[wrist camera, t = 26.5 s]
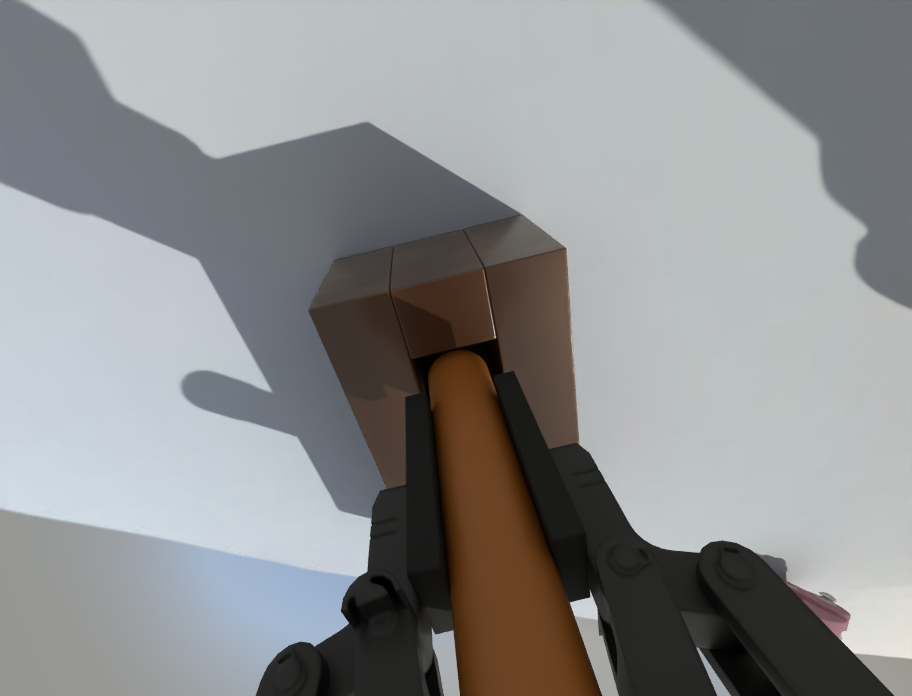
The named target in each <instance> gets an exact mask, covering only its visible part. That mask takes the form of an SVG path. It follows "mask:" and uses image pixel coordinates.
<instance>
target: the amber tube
mask: <svg viewBox="0 0 912 696" xmlns="http://www.w3.org/2000/svg"><path fill="white" fill-rule="evenodd" d="M428 382H429V392H430V402H431V411H432V418H433V428H434V438H435V448H436V458H437V468H438V478H439V488H440V497H441V507H442V517H443V527H444V537H445V547H446V557H447V567H448V576H449V586H450V600H451V610H452V620H453V630H454V640H455V649H456V659H457V669H458V679H459V689H460V696H602V694H601V691H600V688H599V685H598V683H597V680H596V677H595V674H594V671H593V668H592V665H591V663H590V660H589V657H588V654H587V651H586V648H585V645H584V642H583V640H582V637H581V634H580V631H579V628H578V625H577V623H576V620H575V617H574V614H573V611H572V608H571V605H570V602H569V600H568V597H567V594H566V591H565V588H564V585H563V582H562V579H561V577H560V574H559V571H558V569H557V567H556V565H555V562H554V559H553V556H552V553H551V550H550V547H549V544H548V542H547V539H546V536H545V533H544V530H543V527H542V524H541V521H540V518H539V516H538V513H537V510H536V507H535V504H534V501H533V498H532V495H531V492H530V489H529V487H528V484H527V481H526V478H525V475H524V472H523V469H522V466H521V463H520V461H519V458H518V455H517V452H516V449H515V446H514V443H513V440H512V437H511V435H510V432H509V429H508V426H507V423H506V420H505V417H504V414H503V411H502V409H501V406H500V403H499V400H498V396H497V393H496V390H495V387H494V385H493V382H492V379H491V376H490V373H489V370H488V367H487V365H486V363H485V361H484V360H483V359H482V358H481V357H480V356H478V355H477V354H475V353H473V352H470V351H466V350H456V351H451V352H448V353H445V354H444V355H442V356H440V357H439V358H438V359H437V360H436V361H435V362H434V363H433V364H432V366H431V368H430V370H429V374H428Z"/></svg>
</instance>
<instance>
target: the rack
mask: <svg viewBox="0 0 912 696" xmlns="http://www.w3.org/2000/svg"><path fill="white" fill-rule="evenodd" d="M309 314H310V316H311V318H312V320H313V323H314V325H315V327H316V329H317V332H318V334H319V336H320V338H321V341H322V343H323V345H324V347H325V350H326V352H327V354H328V356H329V359H330V361H331V363H332V365H333V368H334V370H335V372H336V375H337V377H338V379H339V381H340V384H341V386H342V388H343V390H344V393H345V395H346V397H347V399H348V402H349V404H350V406H351V408H352V411H353V413H354V415H355V417H356V420H357V422H358V424H359V426H360V429H361V431H362V433H363V435H364V438H365V440H366V442H367V444H368V447H369V449H370V451H371V454H372V456H373V458H374V460H375V463H376V465H377V467H378V469H379V472H380V474H381V476H382V478H383V481H384V483H385V485H386V487H387V489H389V488H393V487H398V486H402V485H406V430H405V397H407V396H411V395H415V394H419V393H423V392H426V395H427V398H428V402H429V405H430V408H431V402H430V392H429V382H428V374H429V370H430V368H431V366H432V364H433V363H434V362H435V361H436V360H437V359H438V358H439V357H440V356H442V355H444V354H445V353H448V352H451V351H448V352H444V353H440V354H436V355H431V356H427V357H426V355H430V354H434V353H438V352H443V351H447V350H451V349H455V348H459V347H463V346H468V345H472V344H476V343H480V342H484V341H485V342H486V344H485V343H481V344H477V345H473V346H469V347H465V348H461V349H456V350H466V351H470V352H473V353H475V354H477V355H478V356H480V357H481V358H482V359H483V360H484V361H485V363H486V365H487V367H488V370H489V373H490V376H491V379H492V382H493V385H494V387H495V390H496V386H495V381H494V376H493V375H498V374H502V373H506V372H510V371H514V372H515V375H516V377H517V379H518V381H519V383H520V386H521V388H522V390H523V392H524V395H525V397H526V399H527V401H528V404H529V406H530V408H531V410H532V413H533V415H534V417H535V419H536V422H537V424H538V426H539V428H540V430H541V433H542V435H543V437H544V439H545V442H546V444H547V446H548V448H549V449H551V448H555V447H560V446H564V445H568V444H572V443H577V444H579V434H578V419H577V404H576V389H575V374H574V359H573V344H572V329H571V314H570V299H569V284H568V269H567V254H566V248H565V247H564V246H563V245H561V244H560V243H559V242H557V241H556V240H555V239H554V238H552V237H551V236H550V235H548V234H547V233H546V232H544V231H543V230H542V229H541V228H539V227H538V226H537V225H535V224H534V223H533V222H531V221H530V220H529V219H528V218H526V217H525V216H524V215H519V216H515V217H511V218H507V219H503V220H499V221H494V222H490V223H486V224H482V225H478V226H474V227H470V228H465V229H464V230H458V231H454V232H449V233H445V234H441V235H437V236H433V237H429V238H425V239H421V240H416V241H412V242H408V243H404V244H400V245H396V246H394V248H393V247H387V248H383V249H379V250H375V251H371V252H367V253H363V254H358V255H354V256H350V257H346V258H342V259H338V260H334V262H333V264H332V265H331V267H330V269H329V271H328V273H327V275H326V277H325V279H324V281H323V283H322V285H321V287H320V289H319V291H318V292H317V294H316V296H315V298H314V300H313V302H312V304H311V306H310V308H309ZM456 350H452V351H456ZM496 393H497V391H496Z"/></svg>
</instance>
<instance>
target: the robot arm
mask: <svg viewBox="0 0 912 696" xmlns="http://www.w3.org/2000/svg"><path fill="white" fill-rule="evenodd" d="M493 376H494V381H495V386H496V391H497V396H498V400H499V403H500V406H501V409H502V411H503V414H504V417H505V420H506V423H507V426H508V429H509V432H510V435H511V437H512V440H513V443H514V446H515V449H516V452H517V455H518V458H519V461H520V463H521V466H522V469H523V472H524V475H525V478H526V481H527V484H528V487H529V489H530V492H531V495H532V498H533V501H534V504H535V507H536V510H537V513H538V516H539V518H540V521H541V524H542V527H543V530H544V533H545V536H546V539H547V542H548V544H549V547H550V550H551V553H552V556H553V559H554V562H555V565H556V567H557V569H558V571H559V574H560V577H561V579H562V582H563V585H564V588H565V591H566V594H567V597H568V600H569V602H573V601H577V600H581V599H585V598H590V591H591V593H592V596H593V598H594V601H595V603H596V606H597V608H598V625H599V626H598V627H599V635H603V639H604V642H605V646H606V650H607V654H608V657H609V661H610V665H611V668H612V672H613V676H614V680H615V683H616V687H617V691H618V694H619V696H717V694H716V692H715V690H714V687H713V685H712V683H711V680H710V678H709V676H708V674H707V671H706V669H705V667H704V664H703V662H702V660H701V658H700V655H699V653H698V651H697V648H696V647H698V648H699V649H700V650H701V652H702V653H703V655H704V656H705V658H706V659H707V661H708V662H709V664H710V665H711V667H712V668H713V670H714V671H715V673H716V674H717V676H718V677H719V678H720V680H721V682H722V683H723V684H724V686H725V687H726V689H727V690H728V692H729V693H730V695H731V696H894V695H893V694H892V693H891V692H890V691H889V690H888V689H887V688H886V687H885V686H884V685H883V684H882V683H881V682H880V681H879V679H878V678H877V677H876V676H875V675H874V674H873V673H872V672H871V671H870V670H869V669H868V668H867V667H866V666H865V665H864V664H863V663H862V662H861V661H860V660H859V659H858V658H857V657H856V656H855V655H854V654H853V652H852V651H851V650H850V649H849V648H848V647H847V646H846V645H845V644H844V643H843V642H842V641H841V640H840V639H839V638H838V637H837V636H836V635H835V634H834V633H833V632H832V631H831V630H830V629H829V628H828V627H827V626H826V624H825V623H824V622H823V621H822V620H821V619H820V618H819V617H818V616H817V615H816V614H815V613H814V612H813V611H812V610H811V609H810V608H809V607H808V606H807V605H806V604H805V603H804V602H803V601H802V600H801V599H800V598H799V597H798V595H797V594H796V593H795V592H794V591H793V590H792V589H791V588H790V587H789V586H788V585H787V584H786V583H785V582H784V581H783V580H782V579H781V578H780V577H779V576H778V575H777V574H776V573H775V572H774V571H773V570H772V569H771V568H770V566H769V565H768V564H767V563H766V562H765V561H764V560H763V559H761V558H760V557H759V556H758V555H756V554H755V553H754V552H753V551H751V550H750V549H748V548H746V547H744V546H741V545H739V544H737V543H733V542H728V541H716V542H710V543H709V544H707V545H706V546H704V547H703V548H702V549H701V552H700V553H694V552H683V551H672V550H667V549H661V548H659V547H656V546H654V545H651V544H650V543H648V542H647V541H645V540H643V539H642V538H641V537H640V536H639V535H638V534H637V533H636V532H635V531H634V530H633V528H632V527H631V525H630V524H629V522H628V520H627V518H626V517H625V515H624V513H623V511H622V510H621V508H620V506H619V504H618V502H617V501H616V499H615V497H614V495H613V494H612V492H611V490H610V488H609V487H608V485H607V483H606V482H605V480H604V478H603V476H602V474H601V472H600V471H599V470H598V467H597V465H596V464H595V462H594V460H593V458H592V456H591V455H590V453H589V452H587V451H586V450H585V449H584V448H582V447H581V446H580V445H579V444H577V443H572V444H568V445H564V446H560V447H555V448H551V449H549V448H548V446H547V444H546V442H545V439H544V437H543V435H542V433H541V430H540V428H539V426H538V424H537V422H536V419H535V417H534V415H533V413H532V410H531V408H530V406H529V404H528V401H527V399H526V397H525V395H524V392H523V390H522V388H521V386H520V383H519V381H518V379H517V377H516V375H515V372H514V371H510V372H506V373H502V374H498V375H493ZM405 430H406V485H402V486H398V487H393V488H389V489H385V490H381V491H380V492H379V494H378V496H377V498H376V501H375V503H374V505H373V508H372V520H371V523H372V526H371V533H370V537H371V540H370V546H369V558H368V571H367V572H366V573H365V574H363V575H361V576H359V577H358V578H357V579H356V580H355V581H354V582H353V583H352V584H351V585H350V587H349V588H348V590H347V592H346V594H345V596H344V598H343V602H342V608H341V612H342V613H343V615H344V616H345V618H346V619H347V620H348V622H349V624H348V625H347V626H346V627H344V628H343V629H342V630H341V631H339V632H337V633H336V634H334V635H333V636H331V637H329V638H328V639H326V640H325V641H323V642H321V643H320V644H318V645H317V646H315V647H314V646H313V645H312V644H311V643H306V642H298V643H295V644H292V645H289V646H288V647H287V648H285V649H284V650H282V651H281V652H280V653H278V654H277V656H276V657H275V658H274V659H273V661H272V662H271V663H270V664H269V665H268V667H267V669H266V671H265V673H264V675H263V677H262V680H261V682H260V685H259V688H258V691H257V694H256V696H444V694H443V689H442V683H441V677H440V672H439V666H438V660H437V657H436V654H435V652H434V649H433V646H432V628H433V631H434V633H435V634H439V633H443V632H448V631H452V630H453V620H452V610H451V600H450V586H449V576H448V567H447V557H446V547H445V537H444V527H443V517H442V507H441V497H440V488H439V478H438V468H437V458H436V448H435V438H434V428H433V418H432V411H431V408H430V405H429V402H428V398H427V395H426V392H423V393H419V394H415V395H411V396H407V397H405ZM431 626H432V628H431Z"/></svg>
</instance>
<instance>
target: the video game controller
mask: <svg viewBox="0 0 912 696" xmlns="http://www.w3.org/2000/svg"><path fill="white" fill-rule="evenodd" d="M783 581H784V582H785V583H786V584H787V585H788V586H789V587H790V588H791V589H792V590H793V591H794V592H795V593H796V594H797V595H798V597H799V598H800V599H801V600H802V601H803V602H804V603H805V604H806V605H807V606H808V607H809V608H810V609H811V610H812V611H813V612H814V613H815V614H816V615H817V616H818V617H819V618H820V619H821V620H822V621H823V622H824V623H825V624H826V626H827V627H828V628H829V629H830V630H831V631H832V632H833V633H834V634H835V635H836V636H837V637H838V638H840V639H842V636H841V633H842V632H843V631H847V626H848V623H849V620H850V614H849V613H848V612H847V611H846V610H844V609H843V608H841V607H840V606H838V605H836V604H835V603H834V602H833V601H837V600H836V599H835V598H834V597H833V596H832V595H830V594H828V593H824V592H819V593H820V594H821V595H822V596H819V595H816V594H813V593H811V592H808V591H806V590H804V589H801V588H799V587H797V586H795V585H793V584H791V583H789V582H787V581H785V580H783Z"/></svg>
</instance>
